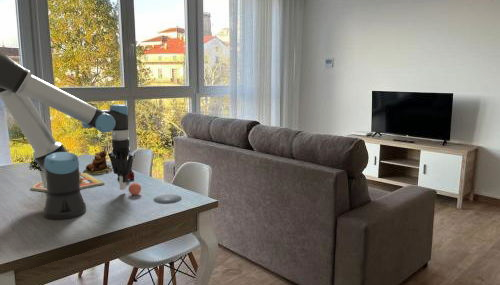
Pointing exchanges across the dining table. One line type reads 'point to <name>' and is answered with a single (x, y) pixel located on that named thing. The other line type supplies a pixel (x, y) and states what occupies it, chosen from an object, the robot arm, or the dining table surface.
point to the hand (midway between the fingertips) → (123, 188)
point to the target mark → (167, 198)
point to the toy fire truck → (130, 175)
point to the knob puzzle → (84, 179)
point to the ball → (134, 188)
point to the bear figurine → (98, 165)
